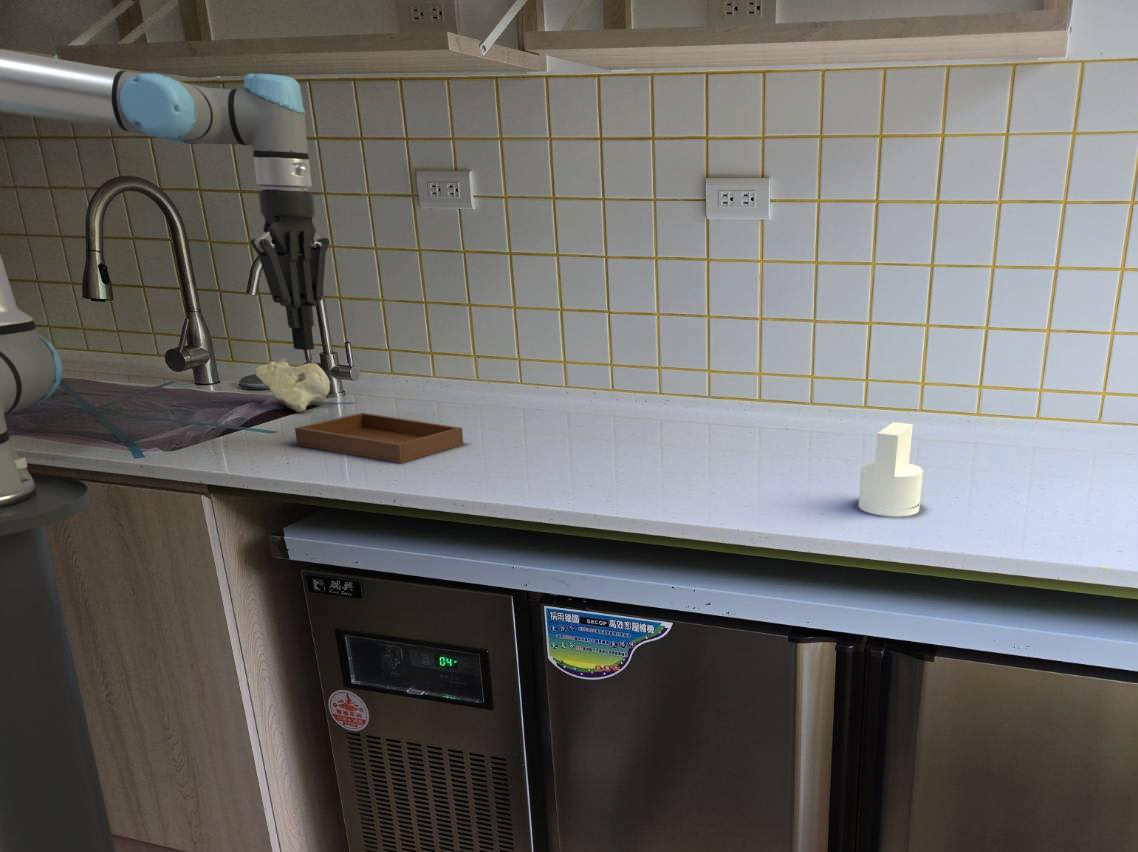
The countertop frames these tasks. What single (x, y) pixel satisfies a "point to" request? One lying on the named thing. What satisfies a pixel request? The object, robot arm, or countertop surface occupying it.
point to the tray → (379, 437)
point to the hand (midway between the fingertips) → (303, 348)
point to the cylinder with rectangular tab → (891, 475)
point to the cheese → (295, 383)
